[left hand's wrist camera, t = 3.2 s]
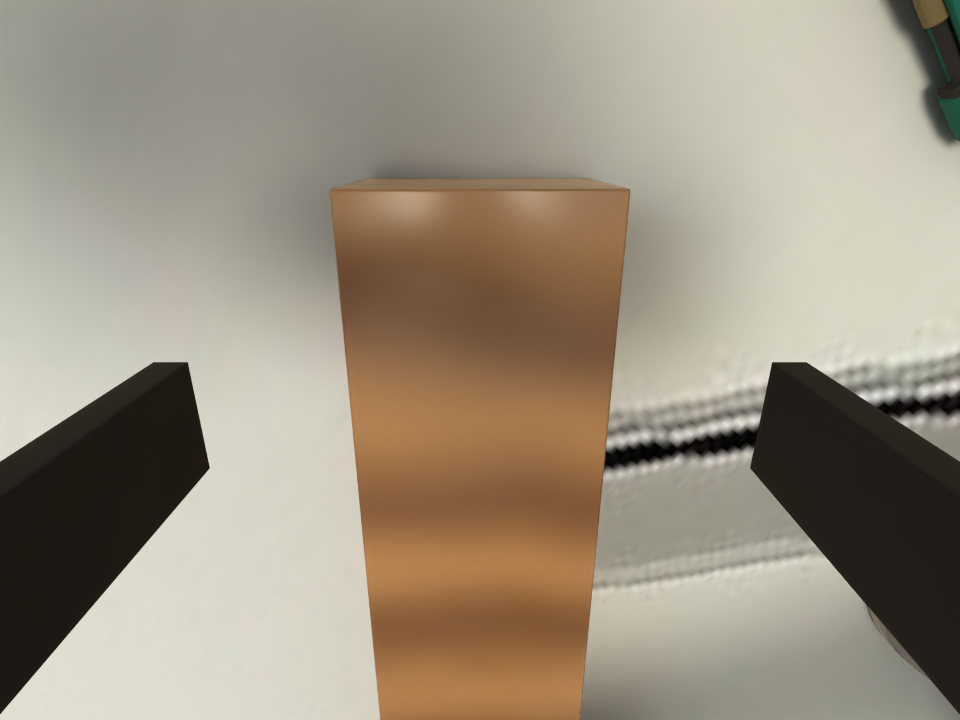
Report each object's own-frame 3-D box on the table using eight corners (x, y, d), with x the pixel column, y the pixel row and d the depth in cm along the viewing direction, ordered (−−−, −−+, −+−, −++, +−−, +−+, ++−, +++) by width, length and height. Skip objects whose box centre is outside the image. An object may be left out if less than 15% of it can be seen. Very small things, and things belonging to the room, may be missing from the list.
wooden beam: (370, 178, 25) (328, 188, 18) (589, 178, 25) (631, 188, 18) (418, 880, 45) (407, 1012, 38) (541, 880, 45) (552, 1012, 38)
